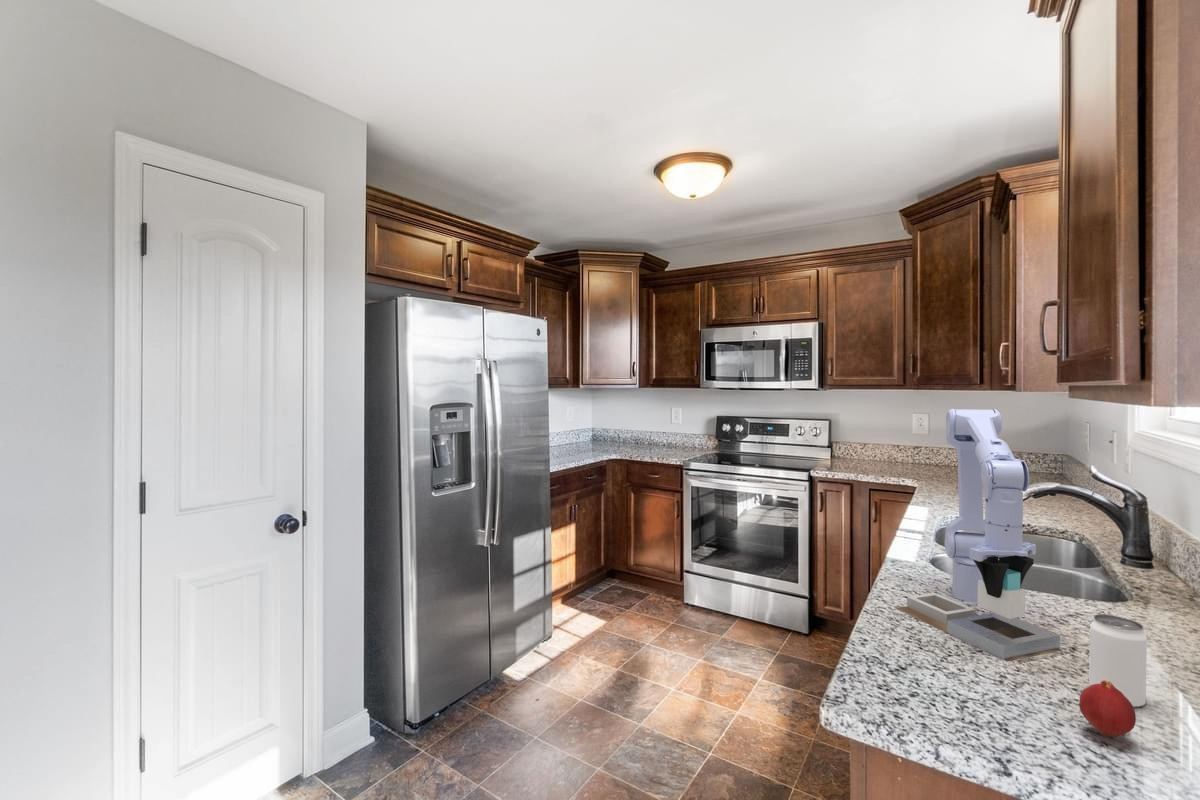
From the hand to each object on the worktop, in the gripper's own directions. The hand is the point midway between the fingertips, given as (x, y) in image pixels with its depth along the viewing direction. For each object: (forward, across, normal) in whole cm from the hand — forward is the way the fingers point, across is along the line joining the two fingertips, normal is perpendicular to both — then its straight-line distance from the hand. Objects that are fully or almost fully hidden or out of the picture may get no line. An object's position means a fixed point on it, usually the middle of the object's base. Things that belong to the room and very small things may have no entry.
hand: (1002, 594), depth 102 cm
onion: (+10, -13, -24) cm, 29 cm away
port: (+10, 0, 0) cm, 10 cm away
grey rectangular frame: (+10, 0, +13) cm, 16 cm away
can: (+10, 0, -18) cm, 21 cm away
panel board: (+10, 0, +6) cm, 11 cm away
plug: (+3, 0, 0) cm, 3 cm away
